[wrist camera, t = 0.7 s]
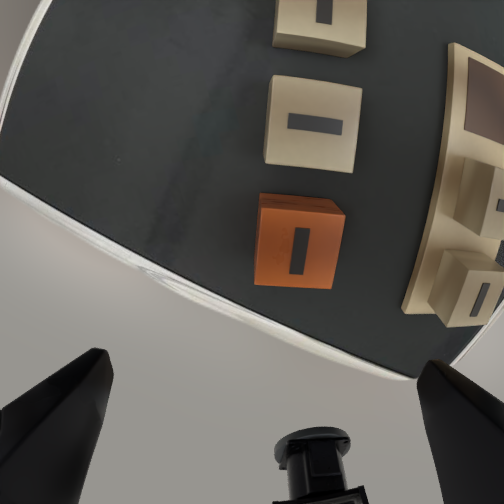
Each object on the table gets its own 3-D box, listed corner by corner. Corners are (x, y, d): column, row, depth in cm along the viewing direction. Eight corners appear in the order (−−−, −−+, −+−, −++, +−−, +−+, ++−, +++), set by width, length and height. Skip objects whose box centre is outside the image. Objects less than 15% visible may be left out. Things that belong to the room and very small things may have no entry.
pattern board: (470, 307, 20) (475, 313, 19) (400, 308, 20) (405, 315, 19) (518, 80, 13) (526, 81, 12) (447, 43, 13) (455, 41, 12)
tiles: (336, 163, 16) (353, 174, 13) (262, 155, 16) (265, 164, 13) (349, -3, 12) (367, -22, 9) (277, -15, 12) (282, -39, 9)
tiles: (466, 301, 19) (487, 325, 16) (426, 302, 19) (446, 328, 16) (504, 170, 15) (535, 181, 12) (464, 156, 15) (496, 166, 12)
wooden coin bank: (320, 263, 19) (332, 290, 16) (253, 259, 19) (254, 286, 16) (331, 199, 17) (347, 216, 14) (259, 192, 17) (261, 208, 14)
